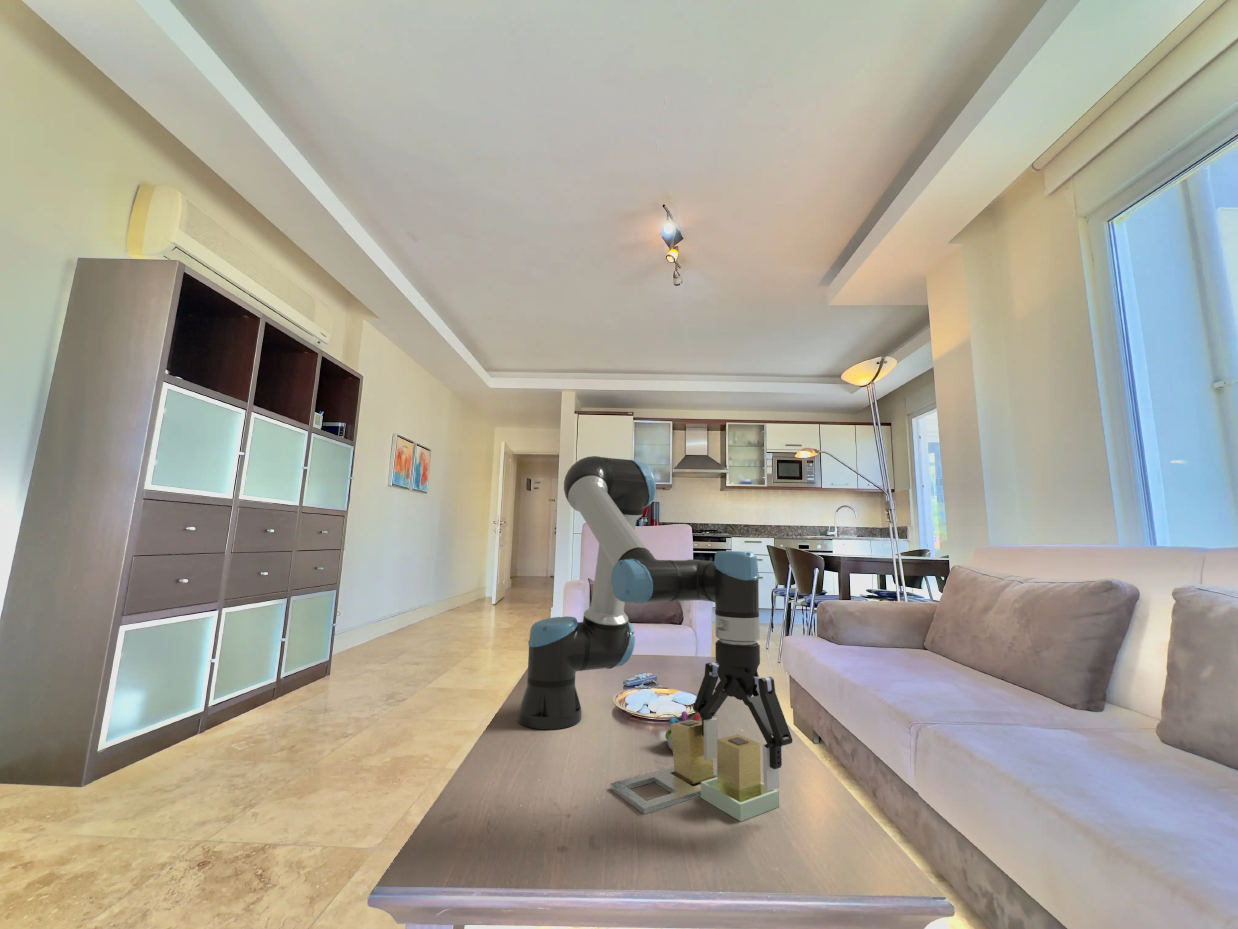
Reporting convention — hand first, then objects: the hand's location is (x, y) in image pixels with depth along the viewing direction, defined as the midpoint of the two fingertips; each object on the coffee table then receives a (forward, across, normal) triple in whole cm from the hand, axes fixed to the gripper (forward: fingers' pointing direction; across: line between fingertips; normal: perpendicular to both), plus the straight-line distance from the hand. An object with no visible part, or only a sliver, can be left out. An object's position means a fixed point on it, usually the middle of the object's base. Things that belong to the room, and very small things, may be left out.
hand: (739, 772), depth 87 cm
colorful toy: (+5, -22, +8) cm, 24 cm away
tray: (+4, 0, 0) cm, 4 cm away
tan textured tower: (+4, -10, -1) cm, 11 cm away
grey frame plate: (+4, -10, -6) cm, 12 cm away
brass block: (+4, 0, 0) cm, 4 cm away
